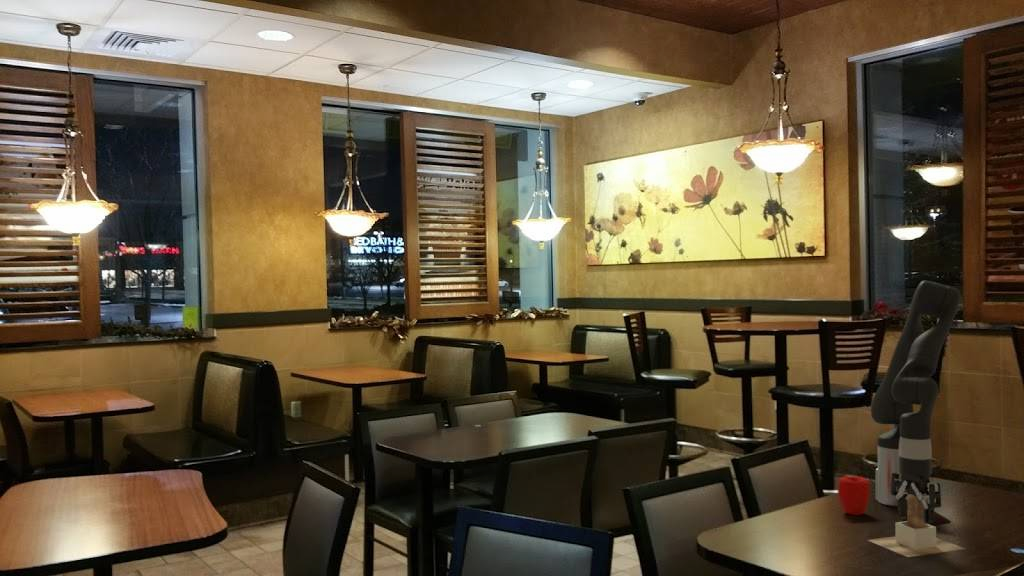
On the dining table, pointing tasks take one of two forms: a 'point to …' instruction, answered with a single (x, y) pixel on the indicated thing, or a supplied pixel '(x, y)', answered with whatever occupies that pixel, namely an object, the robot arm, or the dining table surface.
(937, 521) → the icecream
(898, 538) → the white square box
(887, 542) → the wooden board
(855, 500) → the apple
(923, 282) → the robot arm
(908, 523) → the square wooden post
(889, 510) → the dining table surface
